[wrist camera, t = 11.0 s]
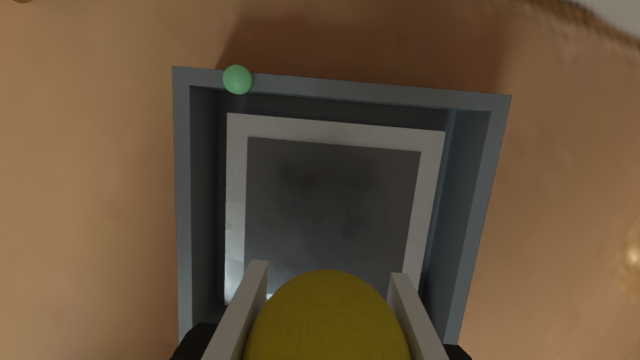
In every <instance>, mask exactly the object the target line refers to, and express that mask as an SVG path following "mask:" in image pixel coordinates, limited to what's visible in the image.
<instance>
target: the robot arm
mask: <svg viewBox="0 0 640 360" xmlns="http://www.w3.org/2000/svg"><path fill="white" fill-rule="evenodd" d="M268 262H269V261H263V260H251V262H250V264H249V266H248V268H247V270H246V272H245V274H244V276H243V278H242V280H241V282H240V284H239V286H238V288H237V290H236V292H235V294H234V296H233V298H232V300H231V302H230V303H229V305H228V307H227V309H226V311H225V313H224V315H223V317H222V319H221V321H220V323H219V324H214V323H203V322H199V323H198V324H197V325H195V326H194V327H193V328H192V329H190V330H189V331H188V332H187V333H186V335H185V336H184V338H183V339H182V341H181V342H180V344H179V347H177V349H176V350H175V352H174V353H173V356H172V357H171V358H170V360H242V359H243V354H244V349H245V345H246V341H247V338H248V336H249V333H250V331H251V329H252V327H253V325H254V322H255V320H256V318H257V316H258V314H259V312H260V310H261V309H262V307H263V306H264V304H265V303H266V302H267V282H268ZM386 302H387V303H388V305H389V306H390V307H391V309H392V311H393V312H394V314H395V316H396V318H397V321H398V323H399V325H400V327H401V329H402V331H403V333H404V336H405V338H406V341H407V344H408V348H409V351H410V357H411V360H472V358H471V357H470V356H469V355H468V354H467V353H466V352H465V351H464V350H463V349H462V348H461V347H460V346H459V345H453V344H442V343H441V341H440V339H439V337H438V335H437V333H436V331H435V329H434V327H433V325H432V323H431V321H430V319H429V316H428V314H427V312H426V310H425V308H424V306H423V304H422V302H421V300H420V298H419V296H418V294H417V292H416V290H415V288H414V285H413V283H412V281H411V279H410V277H409V275H408V274H406V273H395V272H391V275H390V282H389V288H388V295H387V301H386Z"/></svg>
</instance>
